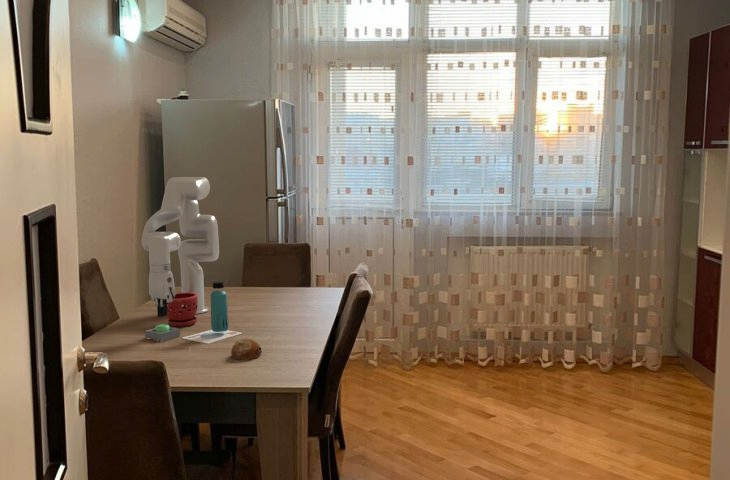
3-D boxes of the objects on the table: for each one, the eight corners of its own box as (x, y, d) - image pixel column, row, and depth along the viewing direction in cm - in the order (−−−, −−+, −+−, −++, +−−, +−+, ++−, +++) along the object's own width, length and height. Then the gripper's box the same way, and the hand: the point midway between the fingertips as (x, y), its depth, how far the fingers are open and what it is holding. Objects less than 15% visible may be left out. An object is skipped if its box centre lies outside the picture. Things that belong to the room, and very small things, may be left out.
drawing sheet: (181, 338, 280) (181, 337, 279) (216, 328, 294) (216, 327, 294) (207, 343, 272) (207, 342, 272) (242, 333, 286) (242, 332, 286)
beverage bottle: (223, 336, 281) (222, 284, 278) (208, 335, 283) (206, 283, 280) (231, 332, 287) (230, 281, 284) (216, 331, 289) (214, 280, 286)
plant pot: (187, 319, 312) (186, 290, 310) (204, 324, 303) (203, 295, 301) (159, 324, 303) (157, 295, 301) (175, 329, 294) (174, 299, 292)
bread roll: (238, 362, 260) (227, 342, 259) (264, 349, 261) (254, 329, 260) (236, 371, 251) (225, 350, 249) (263, 357, 251) (252, 336, 250)
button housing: (145, 338, 280) (144, 330, 280) (164, 333, 287) (163, 325, 287) (161, 341, 275) (160, 333, 274) (180, 336, 282) (179, 329, 282)
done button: (153, 336, 280) (152, 326, 280) (163, 334, 284) (163, 323, 284) (161, 338, 278) (161, 328, 277) (172, 335, 282) (172, 325, 281)
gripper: (181, 268, 277) (183, 316, 280) (154, 264, 285) (157, 311, 288) (165, 271, 271) (168, 321, 274) (138, 267, 279) (141, 315, 282)
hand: (162, 316), depth 281 cm, fingers closed
